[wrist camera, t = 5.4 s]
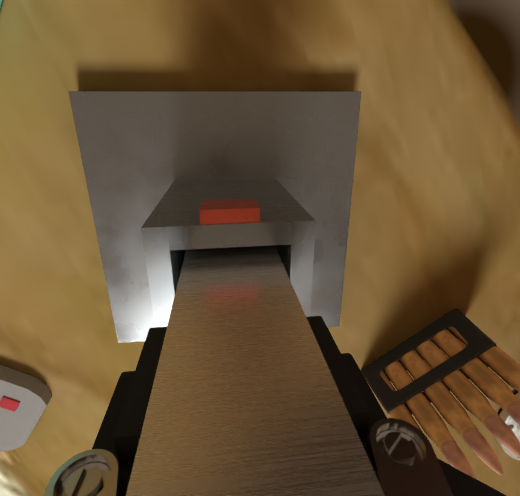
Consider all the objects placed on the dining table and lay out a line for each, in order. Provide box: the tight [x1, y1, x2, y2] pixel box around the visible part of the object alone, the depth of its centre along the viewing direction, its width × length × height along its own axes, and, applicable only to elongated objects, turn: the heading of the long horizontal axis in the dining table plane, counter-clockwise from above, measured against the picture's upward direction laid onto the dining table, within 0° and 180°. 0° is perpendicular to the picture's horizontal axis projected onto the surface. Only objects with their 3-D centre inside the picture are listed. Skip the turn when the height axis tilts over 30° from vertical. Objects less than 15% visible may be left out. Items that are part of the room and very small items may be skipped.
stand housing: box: [69, 91, 361, 343], centre depth 20 cm, size 18×18×12 cm
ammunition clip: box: [361, 309, 520, 480], centre depth 26 cm, size 11×2×12 cm, turn 127°
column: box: [126, 245, 385, 496], centre depth 13 cm, size 4×4×16 cm
